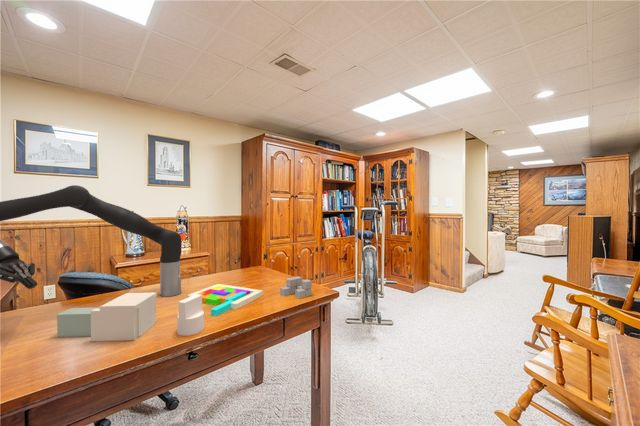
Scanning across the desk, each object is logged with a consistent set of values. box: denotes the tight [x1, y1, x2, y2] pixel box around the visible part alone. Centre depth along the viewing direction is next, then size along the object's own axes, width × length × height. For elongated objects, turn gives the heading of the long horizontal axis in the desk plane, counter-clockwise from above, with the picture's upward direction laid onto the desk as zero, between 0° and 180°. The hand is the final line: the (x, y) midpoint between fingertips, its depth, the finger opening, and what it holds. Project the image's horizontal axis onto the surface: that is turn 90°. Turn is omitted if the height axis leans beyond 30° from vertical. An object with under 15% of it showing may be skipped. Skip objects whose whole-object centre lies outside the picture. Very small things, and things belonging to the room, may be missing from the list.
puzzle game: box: [186, 283, 264, 317], centre depth 131 cm, size 30×3×30 cm
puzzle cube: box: [279, 275, 313, 299], centre depth 140 cm, size 12×12×8 cm
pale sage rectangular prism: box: [56, 306, 100, 338], centre depth 97 cm, size 12×6×8 cm, turn 95°
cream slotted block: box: [90, 292, 158, 342], centre depth 98 cm, size 14×14×12 cm
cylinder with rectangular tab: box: [176, 294, 205, 337], centre depth 100 cm, size 9×9×12 cm
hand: (33, 286), depth 95 cm, fingers closed
